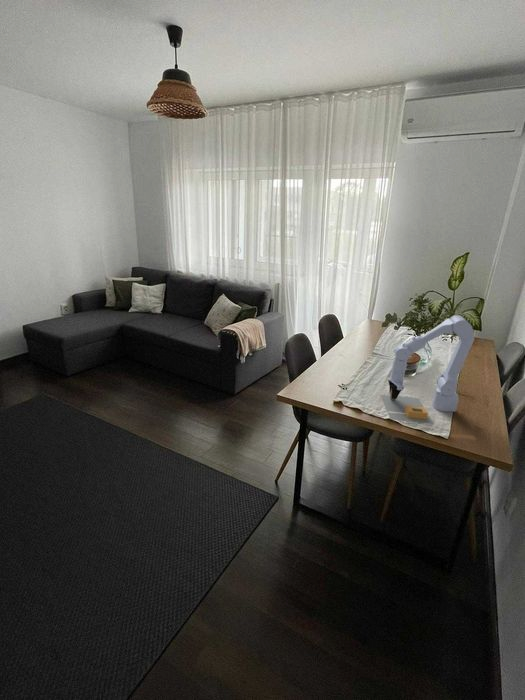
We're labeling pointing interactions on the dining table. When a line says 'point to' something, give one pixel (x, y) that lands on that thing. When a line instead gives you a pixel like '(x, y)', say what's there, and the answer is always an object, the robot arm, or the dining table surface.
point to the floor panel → (402, 408)
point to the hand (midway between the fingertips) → (393, 396)
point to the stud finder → (416, 412)
